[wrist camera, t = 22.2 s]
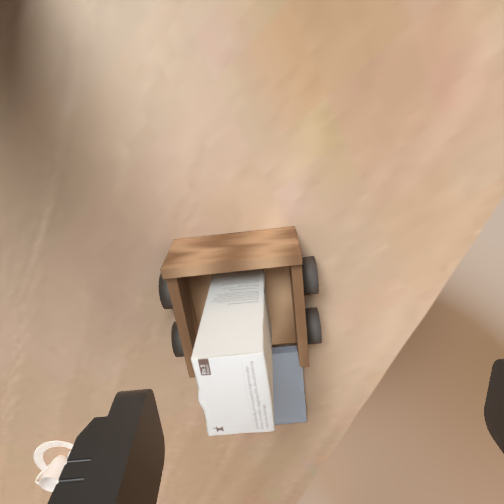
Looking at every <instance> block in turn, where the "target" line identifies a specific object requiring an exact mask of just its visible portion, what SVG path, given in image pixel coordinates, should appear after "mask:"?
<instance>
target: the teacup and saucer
mask: <svg viewBox="0 0 504 504" xmlns="http://www.w3.org/2000/svg"><path fill="white" fill-rule="evenodd" d="M73 445H74V444H72V443H69V442H65V441H49V442H45V443H43V444H41V445H39V446H38V447H37V448H36V450H35V452H34V461H35V463H36V465H37V466H38V468H39V469H40V470H42V471H41V472H40V474H39V475H38V476H37V478H36V479H35V483H36V484H37V485H40V486H41V488H43V489H44V490H46V491H49V492H53V490H54V488H55V486H56V484H58V482H59V477H60V474H61V472H62V470H63V468H64V465H65V464H67V459H68V457H66V456H63V455H59V456H57V457H55V458H54V459H53V460H52V461H51V463H50V464H49V465H48V466H47V465H46V464H45V462H44V460H43V454H44V452H45V451H46V450H47V449H49V448H52V447H58V446H60V447H66V448H69V449H72V447H73ZM70 452H71V451H70ZM70 452H69V453H68V456H69V454H70ZM41 476H42V477H41ZM40 478H41V479H40ZM39 479H40V481H39V482H38V480H39Z"/></svg>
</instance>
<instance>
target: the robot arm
mask: <svg viewBox="0 0 504 504" xmlns="http://www.w3.org/2000/svg"><path fill="white" fill-rule="evenodd" d="M484 416H485V421H486V425H487V428H488V430H489V432H490V434H491V436H492V437H493V439H494V440H495V442H496V443H497V445H498V446H499V448H500V449H501V450H502V452H503V453H504V359H498V360H496V361H495V362H494V364H493V367H492V372H491V377H490V382H489V387H488V392H487V397H486V402H485V407H484ZM164 456H165V444H164V436H163V431H162V427H161V422H160V418H159V414H158V410H157V405H156V401H155V397H154V393H153V391H152V390H151V389H144V390H133V391H121V392H118V393H117V394H116V396H115V398H114V401H113V404H112V406H111V409H110V411H109V414H108V416H107V417H96V418H94V419H93V420H92V421H91V422H90V423H89V424H88V425H87V427H86V428H85V429H84V430H83V431H82V432H81V433H80V434H79V436H78V437H77V438H76V441H75V443H74V445H73V447H72V450H71V452H70V454H69V456H68V459H67V464H65V465H64V468H63V470H62V472H61V474H60V477H59V482H58V484H56V486H55V488H54V490H53V493H52V495H51V497H50V499H49V502H48V504H156V502H157V497H158V492H159V486H160V481H161V476H162V471H163V465H164Z"/></svg>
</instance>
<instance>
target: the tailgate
mask: <svg viewBox="0 0 504 504" xmlns="http://www.w3.org/2000/svg"><path fill="white" fill-rule="evenodd" d="M272 360H273V404H274V425H278V424H289V423H301V422H307V416H306V404H305V392H304V380H303V368H302V367H300V364H299V357H298V351H297V345H294V346H283V347H273V348H272Z"/></svg>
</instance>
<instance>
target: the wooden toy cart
mask: <svg viewBox="0 0 504 504" xmlns="http://www.w3.org/2000/svg"><path fill="white" fill-rule="evenodd" d="M254 269H264V271H265V286H266V296H267V304H268V310H269V317H270V322H271V326H272V345H275V344H285V343H295V342H296V345H297V351H298V357H299V364H300V367H308V366H309V354H308V344H317V343H321V341H322V337H321V326H320V319H319V313H318V309H317V307H316V308H306V309H305V301H304V295H309V294H318V292H319V285H318V274H317V267H316V261H315V258H314V256H311V257H302V253H301V249H300V246H299V242H298V238H297V234H296V230H295V227H294V226H292V227H283V228H274V229H265V230H256V231H247V232H238V233H229V234H220V235H211V236H202V237H193V238H184V239H175V240H173V243H172V245H171V247H170V249H169V252H168V254H167V256H166V258H165V261H164V263H163V265H162V267H161V274H160V278H159V295H160V300H161V303H162V306H163V308H164V309H172V308H173V310H174V315H175V319H176V322H174V323H173V326H172V347H173V352H174V354H175V356H176V357H182V356H185V361H186V365H187V369H188V373H189V377H195V373H194V370H193V366H192V362H191V356H192V352H193V348H194V344H195V340H196V337H197V333H198V329H199V325H200V322H201V318H202V314H203V310H204V306H205V302H206V299H207V295H208V291H209V287H210V283H211V279H212V275H213V274H216V273H226V272H235V271H245V270H254Z"/></svg>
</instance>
